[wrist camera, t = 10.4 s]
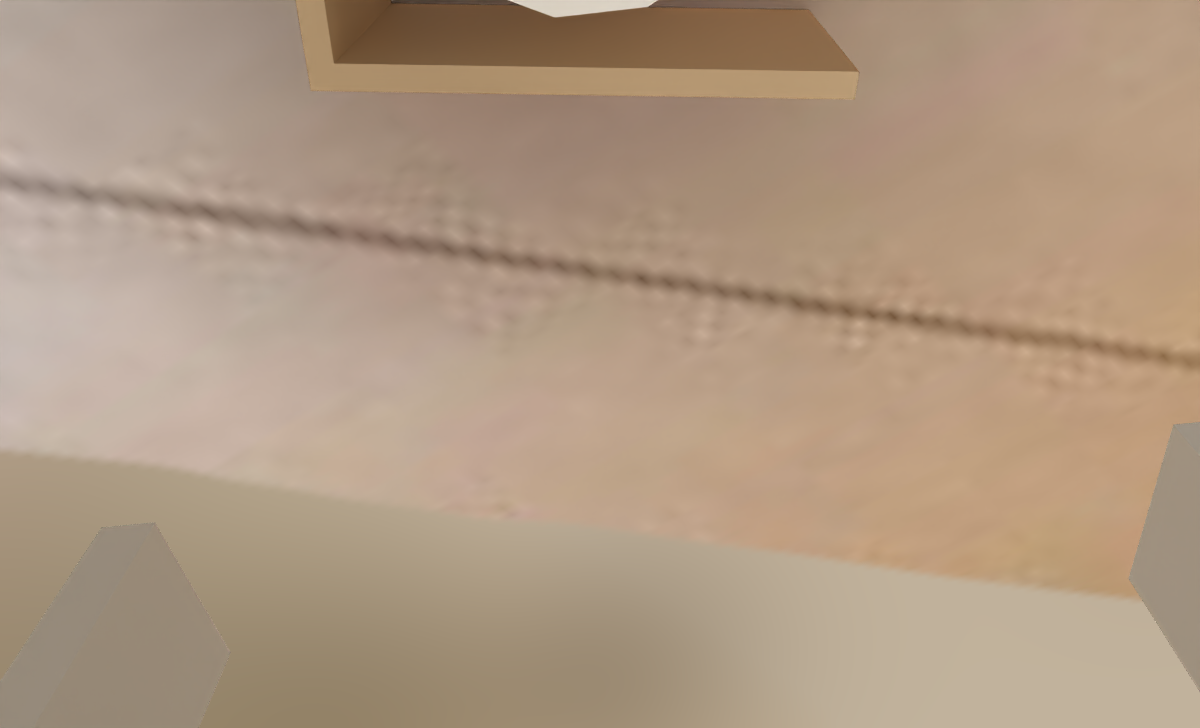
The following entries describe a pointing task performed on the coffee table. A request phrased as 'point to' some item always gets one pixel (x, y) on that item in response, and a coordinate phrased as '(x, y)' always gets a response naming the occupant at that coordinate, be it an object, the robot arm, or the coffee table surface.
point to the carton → (571, 51)
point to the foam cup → (581, 6)
